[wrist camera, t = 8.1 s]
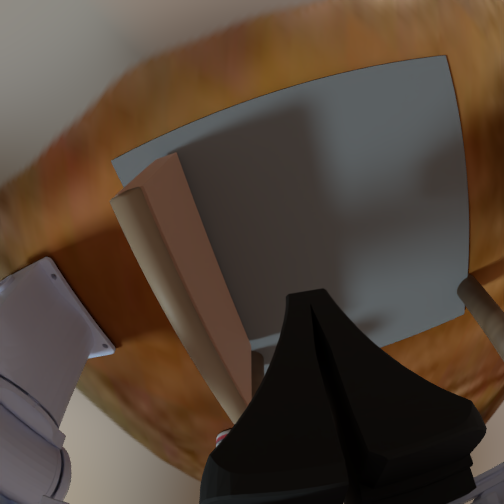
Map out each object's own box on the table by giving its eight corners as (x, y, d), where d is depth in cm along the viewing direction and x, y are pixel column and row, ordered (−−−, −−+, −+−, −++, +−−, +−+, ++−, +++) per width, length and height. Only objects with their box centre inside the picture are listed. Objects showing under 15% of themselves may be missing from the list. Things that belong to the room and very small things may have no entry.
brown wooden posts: (233, 351, 23) (229, 457, 16) (475, 271, 20) (538, 348, 12) (243, 367, 24) (241, 468, 17) (473, 290, 21) (530, 367, 13)
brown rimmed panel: (251, 345, 22) (251, 424, 16) (235, 348, 22) (232, 427, 16) (176, 152, 15) (134, 194, 10) (155, 159, 16) (104, 205, 10)
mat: (113, 159, 16) (111, 160, 16) (442, 55, 13) (445, 55, 13) (240, 383, 26) (240, 386, 25) (462, 311, 22) (463, 313, 22)
